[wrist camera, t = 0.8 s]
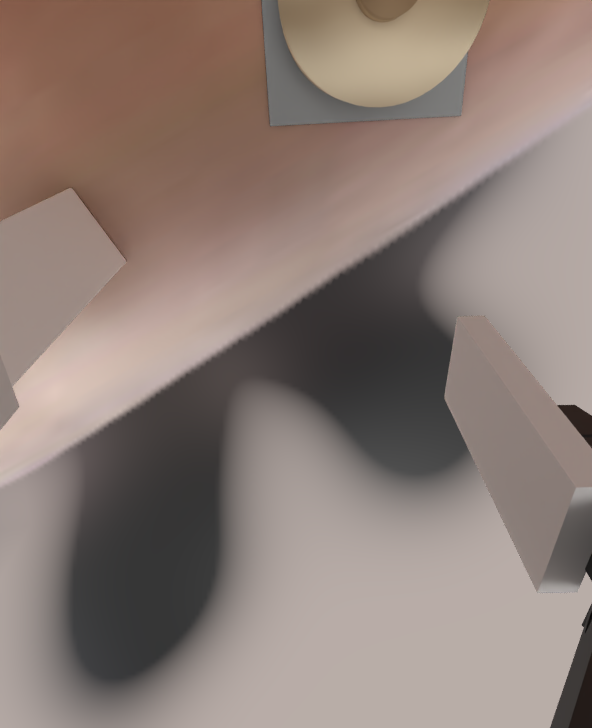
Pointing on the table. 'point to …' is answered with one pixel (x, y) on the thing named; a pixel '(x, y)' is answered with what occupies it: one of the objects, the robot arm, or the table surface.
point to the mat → (312, 106)
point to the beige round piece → (379, 45)
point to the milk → (48, 275)
